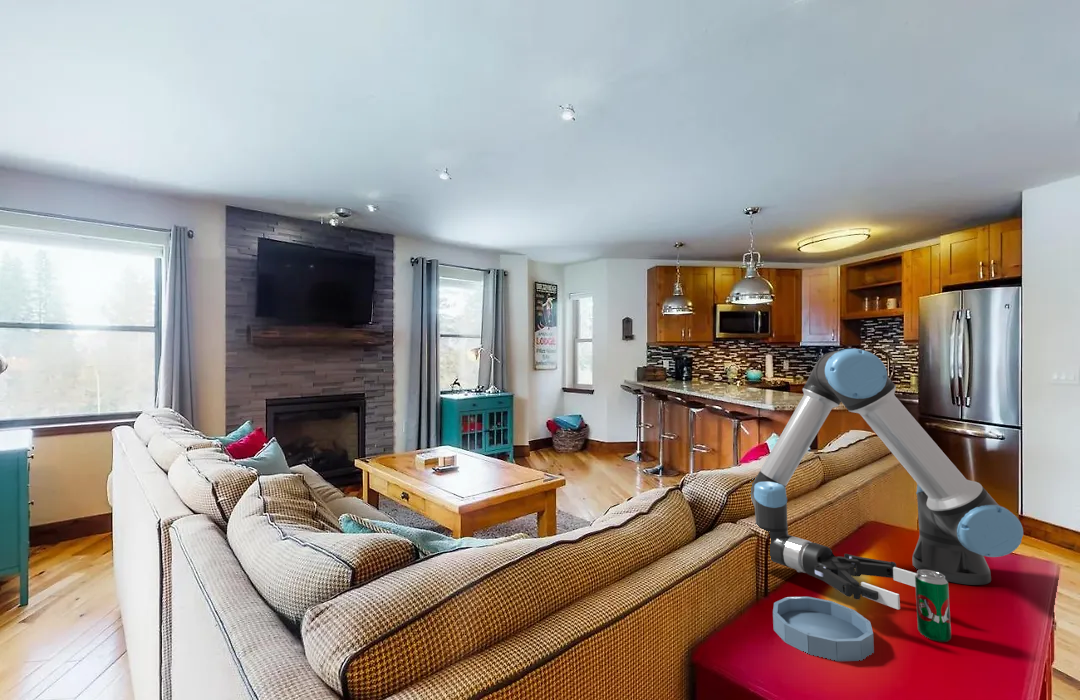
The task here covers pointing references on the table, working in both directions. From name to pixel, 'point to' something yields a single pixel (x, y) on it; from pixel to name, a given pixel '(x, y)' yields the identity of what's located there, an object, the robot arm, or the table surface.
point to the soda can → (933, 605)
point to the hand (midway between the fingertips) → (915, 593)
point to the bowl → (823, 628)
